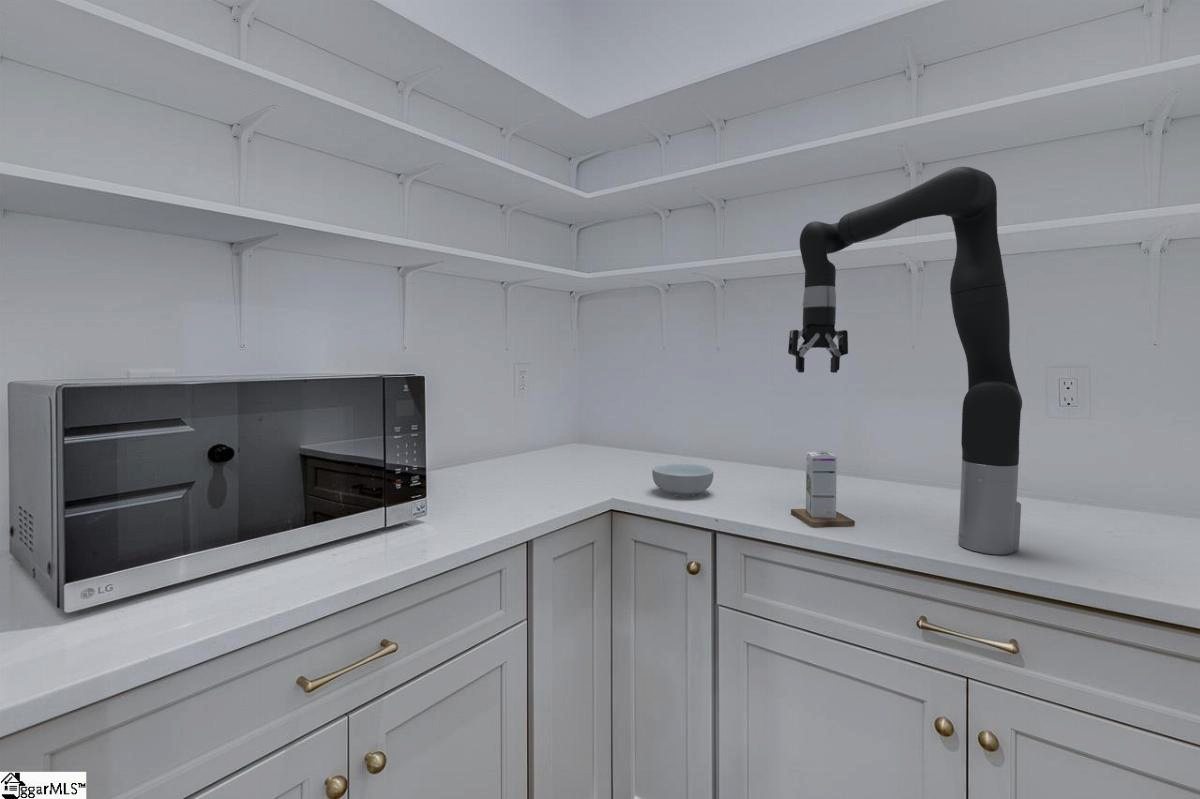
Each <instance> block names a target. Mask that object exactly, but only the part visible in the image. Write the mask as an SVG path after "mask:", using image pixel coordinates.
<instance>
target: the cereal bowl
mask: <svg viewBox="0 0 1200 799" xmlns="http://www.w3.org/2000/svg"><path fill="white" fill-rule="evenodd" d="M651 472H652V473H651V474H652V480H653V482H654V484H655V485H656V487H658V489H659V490H662V491H664V492H666V493H667V494H669V495H670V494H672V495H671V496H673V495H677V496H676V497H680V496H689V497H693V496H692V495H694V496H697V494H700V493H701V492H702V493H703V492H705V491H706V490H707V489H708V488H710V486H711V485H712V483H713V480H714V470H713V468H712V467H709V466H708V465H702V464H697V463H687V462H686V463H684V462H682V463H680V462H679V463H678V462H677V463H675V462H674V463H665V464H660V465H659V464H658V465H655V466H654V467H652V470H651Z"/></svg>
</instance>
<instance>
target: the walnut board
mask: <svg viewBox="0 0 1200 799" xmlns="http://www.w3.org/2000/svg"><path fill="white" fill-rule="evenodd" d="M790 515H792V516H793V517H795V518H796V517H797V518H796V519H798V520H799V519H800V521H801V522H803V524H806V525H807V526H809V527H810V528H833V527H834V528H836V527H839V526H841V527H855V525H856V521H855V520H854V519H852V518H850V517H848V516H847V515H844V514H843V513H841V512H839V511H837V510H836V518H813V517H810V515H809V514H808V513H807V512H806V508H792V509H791V508H790ZM839 528H840V527H839Z"/></svg>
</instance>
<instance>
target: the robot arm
mask: <svg viewBox="0 0 1200 799" xmlns="http://www.w3.org/2000/svg"><path fill="white" fill-rule="evenodd" d="M997 192H998V191H997V186H996V182H995V181H994V179H993V177H992V176H991V175H990V174H988V173H986V172H985V171H983V170H980V169H978V168H977V169H976V168H973V167H969V166H957V167H956V166H955V167H953V168H951V169H949V170H946V171H944V172H942V173H940V174H938V175H937V176H934V177H932V178H931V179H929V180H927V181H924V182H923V183H921V184H919V185H917V186H915V187H913V188H911V189H909V190H907V191H905V192H903V193H900V194H897V195H895V196H893V197H891V198H888V199H886V200H882V201H880V202H877V203H874V204H872V205H868V206H866V207H863V208H862V207H861V208H859V209H856V210H855V211H854V210H853V211H851V212H848V213H846V214H844V215H843V216H842V217H840V219H839V221H838V222H835V223H827V222H821V221H810V222H809V223H807V224H806V225H805V226H804V227H803V228H802V230H801V233H800V237H799V249H800V254H801V259H802V264H803V268H804V289H803V290H804V292H803V300H802V329H801V330H799V329H792V330H790V331H789V337H788V338H789V339H788V351H787V353H788V354H789V355H792V356H794V358H795V370H796V371H797V373H804V372H805V361H806V360H805V358H806V357H805V355H806V354H807V352H808V351H809V350H811V349H816V348H819V349H823V348H825V350H826V351H827V352H828V353H829V354H830V356H831V357H830V370H829V371H830V373H836V374H837V373H838V371H839V370H840V364H841V362H840V360H841V357H843V356H844V355H848V354H849V337H848V336H849V334H848V330H846V329H843V330H842V329H841V330H836V328H835V326H836V315H837V313H836V311H837V292H836V274H837V272H836V269H837V268H836V266H835V264H834V263H833V262H831V261H830V260H829V259H828V258H829V257H828V254H834V253H838V252H839V251H842V250H844V249H845V248H848V247H850V246H852V245H853V244H856V243H860V242H864V241H867V240H870V239H871V240H872V239H874V238H877V237H879V236H882V235H885V234H887V233H889V232H891V231H893V230H895V229H897V228H899V227H900V226H902V225H904V224H907V223H909V222H912V221H916V220H919V219H924V218H928V217H929V218H930V217H935V216H947V217H951V219H952V225H953V228H954V234H955V241H956V254H955V260H954V263H953V268H952V271H951V277H950V283H949V284H950V285H949V286H950V287H949V291H950V292H949V293H950V294H949V295H950V300H951V308H952V314H953V318H954V322H955V328H956V330H957V334H958V336H959V340H960V343H961V345H962V348H963V351H964V355H965V358H966V364H967V381H968V382H967V383H968V384H967V385H968V386H967V387H968V389H967V390H968V391H967V392H966V393H965V395H964V398H963V402H962V412H961V420H962V421H961V440H960V441H961V442H960V443H961V452H962V453H961V478H960V497H959V499H960V500H959V518H958V519H959V520H958V521H959V522H958V536H957V537H958V540H957V543H958V545H959V546H960V547H962V548H964V549H967V550H969V551H974V552H977V553H981V554H982V553H983V554H990V555H1010V554H1013V553H1015V552H1020V535H1021V517H1022V516H1021V515H1022V504H1021V502H1019V501H1017V499H1018V484H1019V483H1018V481H1019V480H1018V478H1019V461H1020V432H1021V414H1022V409H1023V408H1022V407H1023V399H1022V395H1021V392H1020V391H1019V387H1018V382H1017V380H1016V377H1015V376H1016V375H1015V372H1014V367H1013V364H1012V358H1011V350H1010V348H1011V346H1010V343H1011V342H1010V336H1011V326H1010V323H1011V322H1010V306H1009V297H1008V290H1007V286H1006V285H1007V283H1006V278H1005V274H1004V266H1003V260H1002V259H1003V258H1002V254H1001V248H1000V247H1001V246H1000V242H999V235H998V234H999V233H998V194H997ZM801 337H802V338H803V341H802V343H801V344H800V345H799V339H800V338H801ZM834 338H836V339H837V344H838V345H837V344H836V343H835V341H834ZM798 346H799V348H798Z"/></svg>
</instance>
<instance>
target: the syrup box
mask: <svg viewBox="0 0 1200 799" xmlns="http://www.w3.org/2000/svg"><path fill="white" fill-rule="evenodd" d="M805 464H806V465H805V466H806V472H805V474H806V475H805V476H806V478H805V482H806V483H805V485H806V486H805V509H806V512H807V513H808V514H809V515H810V517H813V518H836V511H837V455H834V454H833V453H831V452H829V451H807V452H806V462H805Z"/></svg>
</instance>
